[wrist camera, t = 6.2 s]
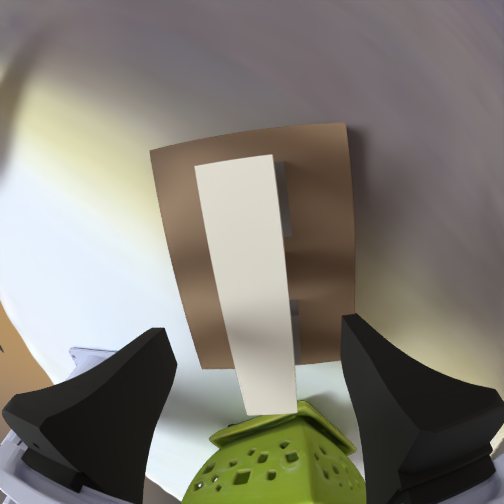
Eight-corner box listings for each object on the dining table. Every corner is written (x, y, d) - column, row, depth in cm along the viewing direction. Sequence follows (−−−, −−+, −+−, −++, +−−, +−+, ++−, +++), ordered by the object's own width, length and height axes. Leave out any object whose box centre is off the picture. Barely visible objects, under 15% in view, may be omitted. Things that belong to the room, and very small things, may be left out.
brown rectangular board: (347, 347, 22) (360, 390, 17) (205, 357, 23) (192, 399, 18) (339, 124, 16) (362, 115, 11) (158, 150, 18) (122, 151, 13)
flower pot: (365, 435, 26) (382, 524, 14) (270, 468, 30) (264, 546, 18) (307, 376, 23) (316, 507, 11) (196, 421, 27) (169, 518, 15)
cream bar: (295, 369, 18) (297, 413, 15) (252, 372, 19) (247, 415, 15) (273, 154, 14) (272, 154, 10) (215, 162, 14) (194, 166, 10)
